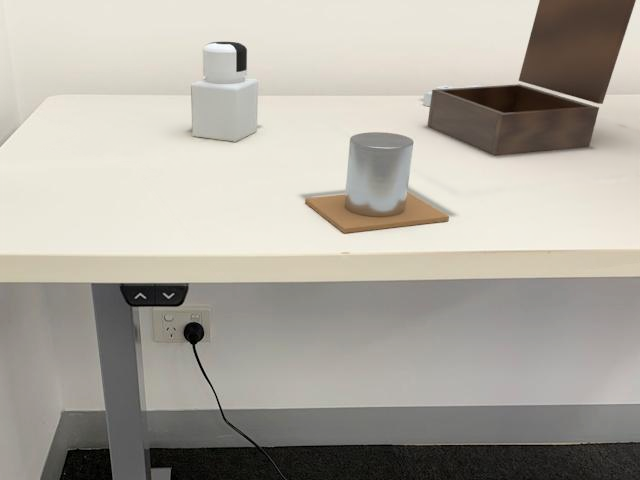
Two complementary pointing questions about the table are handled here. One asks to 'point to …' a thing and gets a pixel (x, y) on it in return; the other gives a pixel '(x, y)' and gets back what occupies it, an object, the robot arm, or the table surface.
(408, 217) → the mat
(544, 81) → the lid
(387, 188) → the silver metal canister
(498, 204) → the table surface
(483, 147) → the box
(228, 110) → the white block with cylinder
